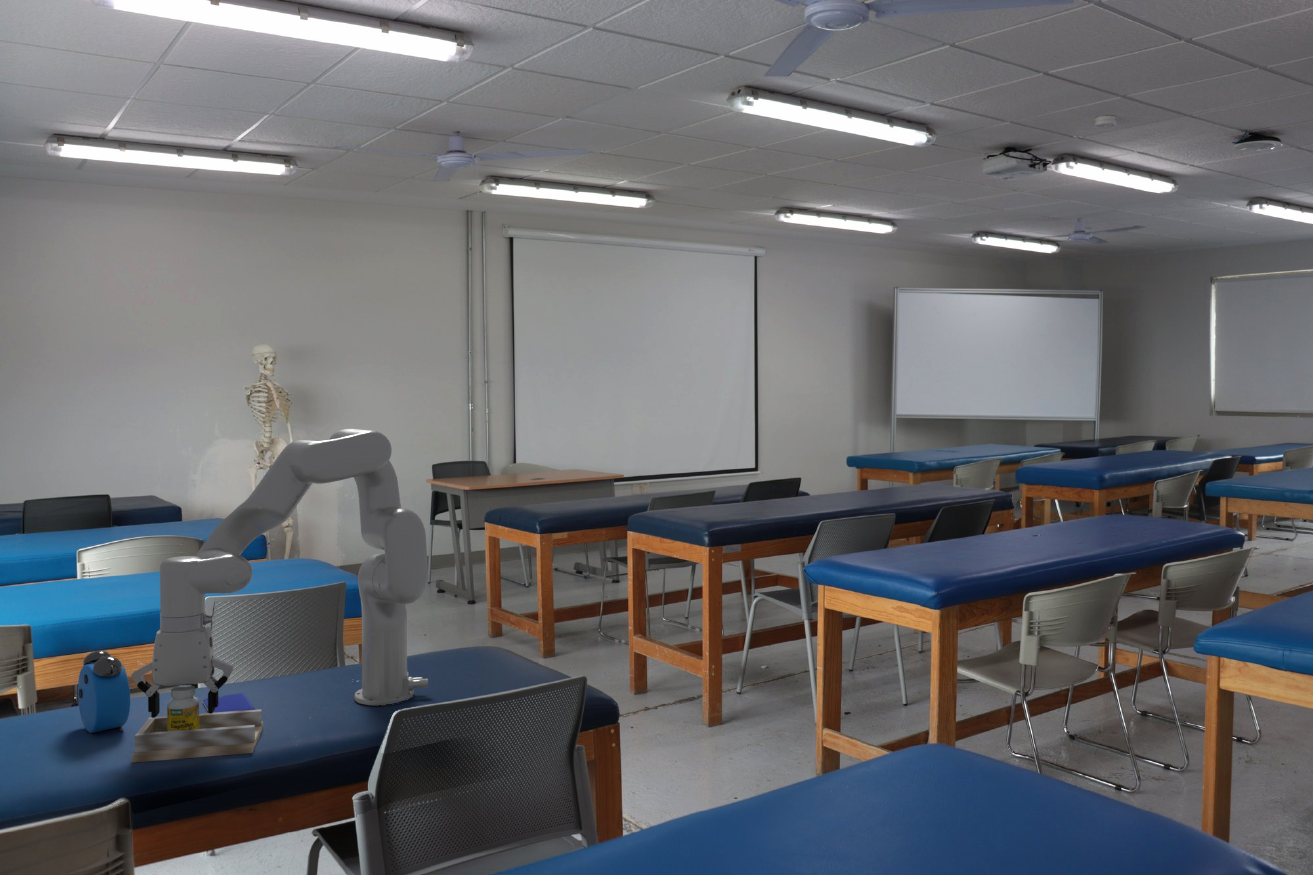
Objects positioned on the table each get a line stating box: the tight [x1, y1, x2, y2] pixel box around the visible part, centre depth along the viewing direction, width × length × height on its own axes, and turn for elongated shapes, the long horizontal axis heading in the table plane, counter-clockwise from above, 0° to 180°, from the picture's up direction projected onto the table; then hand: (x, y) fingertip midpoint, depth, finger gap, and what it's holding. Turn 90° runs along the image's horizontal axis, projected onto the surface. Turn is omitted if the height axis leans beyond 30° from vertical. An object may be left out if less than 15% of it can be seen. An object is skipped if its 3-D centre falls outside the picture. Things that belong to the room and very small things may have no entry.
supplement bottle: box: [166, 684, 200, 731], centre depth 176 cm, size 5×5×10 cm
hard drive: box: [202, 692, 256, 713], centre depth 198 cm, size 2×8×12 cm
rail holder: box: [131, 709, 264, 763], centre depth 177 cm, size 20×14×4 cm
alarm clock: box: [77, 649, 131, 734], centre depth 184 cm, size 13×6×15 cm, turn 45°
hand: (183, 713), depth 176 cm, fingers open, 9 cm apart
